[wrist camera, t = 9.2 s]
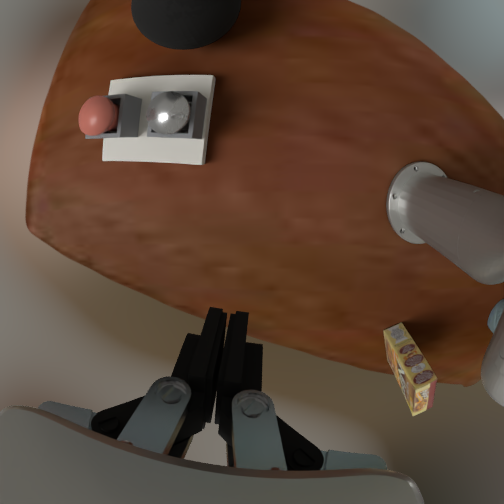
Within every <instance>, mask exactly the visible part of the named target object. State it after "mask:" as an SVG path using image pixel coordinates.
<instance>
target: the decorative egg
mask: <svg viewBox="0 0 504 504" xmlns="http://www.w3.org/2000/svg"><path fill="white" fill-rule="evenodd" d="M240 7H241V0H132V5H131V9H132V16H133V19H134V22H135V24H136V26H137V27H138V29H139V30H140V31H141V33H142V34H143V35H144V36H145V37H147V38H148V39H149V40H151V41H152V42H154V43H156V44H158V45H161V46H164V47H167V48H171V49H194V48H199V47H203V46H206V45H208V44H210V43H213V42H214V41H216V40H218V39H219V38H221V37H222V36H223V35H225V34H226V33H227V32H228V31H229V30H230V29H231V27H232V26H233V25H234V23H235V21H236V19H237V17H238V15H239V12H240Z"/></svg>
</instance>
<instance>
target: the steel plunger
mask: <svg viewBox="0 0 504 504" xmlns="http://www.w3.org/2000/svg"><path fill="white" fill-rule="evenodd" d="M190 117H191V106H190V103H189V101H188V100H187V99H186V98H185V97H184V96H183V95H181V94H179V93H177V92H173V91H167V92H163V93H161V94H159V95H157V96H156V97H155V98H154V99H153V100H152V101H151V102H150V104H149V106H148V108H147V112H146V118H147V122H148V125H149V126H150V128H151V129H152V130H154V131H155V132H157V133H160V134H174V133H177V132H179V131H186V130H188V129H189V121H190Z"/></svg>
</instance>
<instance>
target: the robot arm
mask: <svg viewBox="0 0 504 504" xmlns="http://www.w3.org/2000/svg"><path fill="white" fill-rule="evenodd" d="M392 195H393V197H392ZM386 206H387V215H388V219H389V222H390V224H391V226H392V228H393V229H394V231H395V232H396V233H397V234H398V235H399V236H400V237H401V238H403V239H404V240H406V241H408V242H410V243H415V244H423V243H427V244H429V245H430V246H432V247H433V248H434V249H436V250H437V251H438V252H440V253H441V254H442V255H444V256H445V257H446V258H448V259H449V260H450V261H452V262H453V263H454V264H455V265H457V266H458V267H459V268H460V269H462V270H463V271H464V272H465V273H467V274H468V275H469V276H470V277H472V278H473V279H475V280H476V281H478V282H480V283H483V284H488V285H491V284H498V283H502V282H504V196H503V195H500V194H497V193H494V192H491V191H488V190H485V189H482V188H479V187H476V186H473V185H470V184H466V183H463V182H460V181H456V180H453V179H449V178H447V176H446V175H445V173H444V172H443V171H442V170H441V169H440V168H439V167H437V166H435V165H434V164H431V163H427V162H413V163H411V164H408V165H406V166H405V167H404V168H402V169H401V170H400V171H399V172H398V173H397V174H396V176H395V177H394V179H393V180H392V183H391V185H390V187H389V191H388V195H387V203H386ZM248 315H249V313H248V312H240V311H236V314H231V315H230V320H229V325H228V330H227V335H226V340H225V345H224V338H225V328H226V319H227V313H224V312H223V309H220V308H213V307H210V308H209V311H208V314H207V317H206V320H205V323H204V326H203V330H202V333H201V335H195V334H190V333H188V334H187V336H186V338H185V341H184V343H183V346H182V349H181V351H180V354H179V357H178V359H177V362H176V364H175V367H174V370H173V373H172V375H171V377H163V378H160V379H158V380H156V381H155V382H154V383H153V384H152V386H151V387H150V389H149V390H148V392H147V393H146V395H145V396H143V397H140V398H137V399H135V400H132V401H129V402H126V403H124V404H120V405H117V406H114V407H111V408H108V409H105V410H103V411H100V412H98V413H95V412H93V411H92V410H90V409H85V408H80V407H75V406H70V405H66V404H61V403H57V402H53V401H47V402H44V403H42V404H41V405H40V406H39V407H38V408H33V407H29V406H9V407H7V408H5V409H3V410H2V411H1V412H0V504H424V501H423V498H422V495H421V493H420V491H419V489H418V487H417V485H416V484H415V482H414V481H413V480H412V479H411V478H410V477H408V476H406V475H404V474H401V473H398V472H395V471H390V470H387V466H386V463H385V461H384V460H383V459H382V458H381V457H379V456H377V455H372V454H359V453H350V452H341V451H334V450H328V452H326V451H320V450H319V449H318V448H317V447H316V446H315V445H314V444H312V443H311V442H310V441H308V440H307V439H306V438H304V437H303V436H302V435H300V434H299V433H298V432H297V431H295V430H294V429H293V428H291V427H290V426H289V425H288V424H286V423H285V422H284V421H283V420H282V419H280V418H279V417H278V416H276V413H275V408H274V404H273V401H272V399H271V398H270V397H269V396H268V395H266V394H265V393H263V392H261V388H262V355H263V346H262V344H255V343H247V342H246V334H247V324H248ZM481 377H482V382H483V385H484V387H485V389H486V391H487V392H488V394H489V395H490V396H491V397H492V398H493V399H494V400H495V401H496V402H497V403H499V404H500V405H502V406H504V309H503V312H502V315H501V317H500V320H499V322H498V325H497V327H496V329H495V332H494V334H493V336H492V339H491V341H490V343H489V345H488V348H487V350H486V352H485V355H484V358H483V362H482V367H481ZM216 392H217V396H216ZM215 397H217V398H216V411H215V424H219V431H218V434H219V435H220V436H221V437H222V438H223V439H224V440H225V441H226V452H227V453H226V454H227V466H220V465H213V464H206V463H201V462H195V461H191V460H185V459H184V458H185V455H186V453H187V451H188V449H189V446H190V444H191V442H192V439H193V435H194V434H196V433H198V432H200V431H202V429H204V427H205V423H206V422H207V423H210V422H211V418H212V413H213V407H214V402H215Z"/></svg>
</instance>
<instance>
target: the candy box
mask: <svg viewBox="0 0 504 504" xmlns="http://www.w3.org/2000/svg"><path fill="white" fill-rule="evenodd" d="M384 338H385V346H386V353H387V360H388V362H389V364H390V366H391V368H392V370H393V372H394V375H395V377H396V379H397V381H398V383H399V385H400V387H401V390H402V392H403V394H404V396H405V398H406V401H407V403H408V405H409V407H410V410H411V412H412V415H413V416H414V415H417V414H419V413H421V412H423V411H425V410H427V409H429V408H431V407H432V406H433V401H434V396H435V389H436V383H437V377H436V376H435V374H434V372H433V371H432V369H431V367H430V366H429V364H428V362H427V361H426V359H425V358H424V356H423V354H422V353H421V351H420V350H419V348H418V347H417V345H416V343H415V342H414V340H413V339H412V337H411V336H410V334H409V333H408V331H407V330H406V328H405V327H404V325H403V324H402V322H401V323H399V324H397V325H395V326H392V327H390V328H388V329H386V330H384Z"/></svg>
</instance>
